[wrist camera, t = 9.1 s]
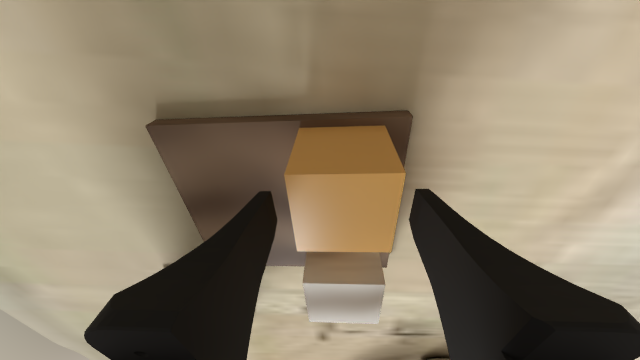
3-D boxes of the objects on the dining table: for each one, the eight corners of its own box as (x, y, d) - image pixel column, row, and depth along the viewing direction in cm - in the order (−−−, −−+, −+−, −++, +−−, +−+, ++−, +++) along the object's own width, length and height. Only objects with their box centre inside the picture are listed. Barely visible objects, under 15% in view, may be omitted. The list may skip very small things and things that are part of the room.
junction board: (384, 258, 22) (398, 327, 17) (220, 256, 23) (189, 320, 18) (408, 110, 14) (447, 162, 9) (155, 119, 15) (70, 169, 10)
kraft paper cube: (377, 193, 16) (391, 252, 12) (306, 193, 17) (297, 251, 13) (384, 125, 14) (406, 173, 10) (299, 127, 14) (284, 174, 10)
